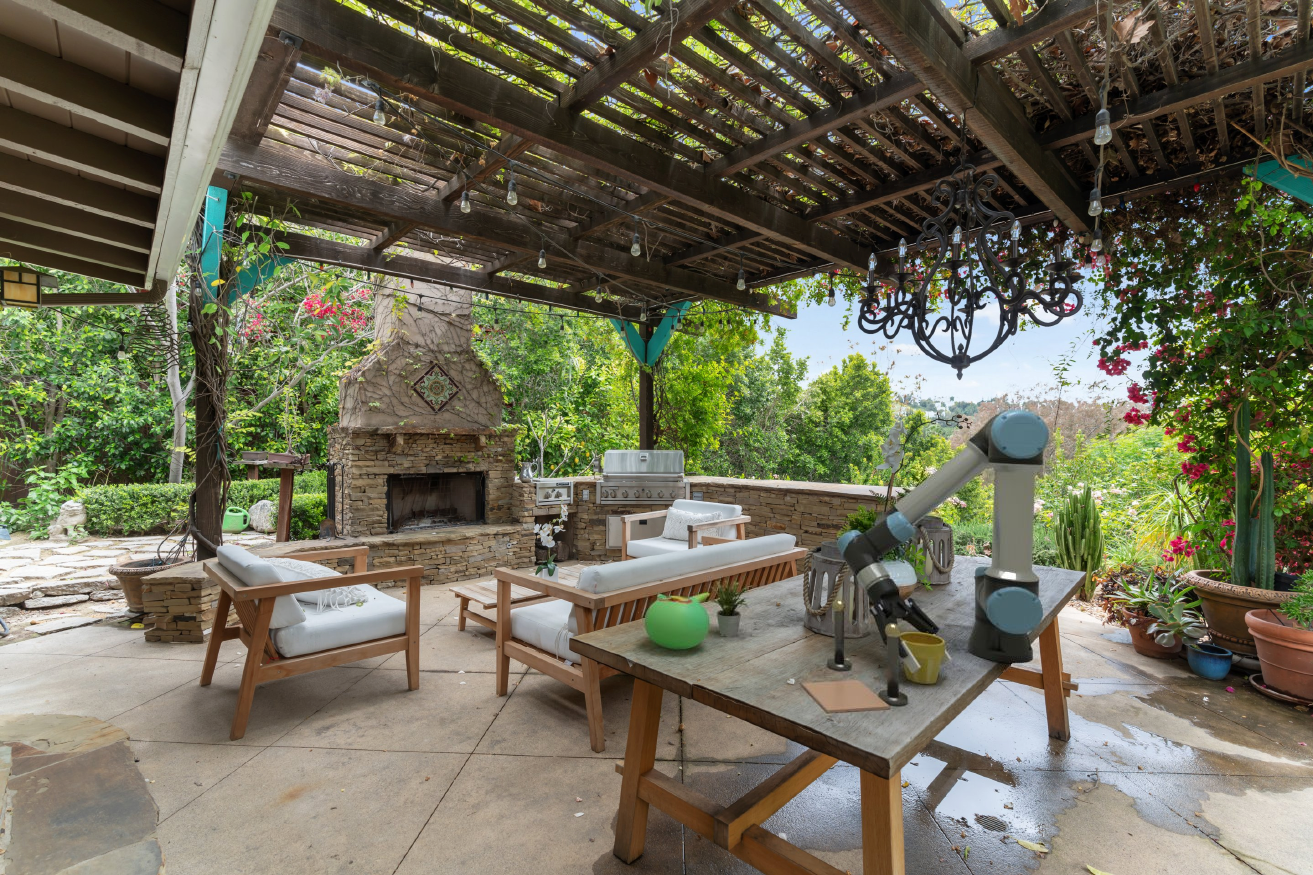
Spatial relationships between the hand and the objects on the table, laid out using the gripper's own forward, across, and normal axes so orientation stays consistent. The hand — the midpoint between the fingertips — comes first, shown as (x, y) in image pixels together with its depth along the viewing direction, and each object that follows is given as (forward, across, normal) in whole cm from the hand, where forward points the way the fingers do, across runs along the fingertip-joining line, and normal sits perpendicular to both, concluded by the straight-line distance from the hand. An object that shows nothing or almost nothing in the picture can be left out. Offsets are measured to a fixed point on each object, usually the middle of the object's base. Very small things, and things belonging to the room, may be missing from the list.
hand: (932, 665), depth 139 cm
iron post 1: (-10, +12, -16) cm, 22 cm away
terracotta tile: (0, +24, -6) cm, 25 cm away
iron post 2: (+4, +16, -2) cm, 16 cm away
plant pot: (+1, 0, -5) cm, 5 cm away
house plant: (-33, +22, -39) cm, 55 cm away
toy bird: (-32, +40, -38) cm, 64 cm away
